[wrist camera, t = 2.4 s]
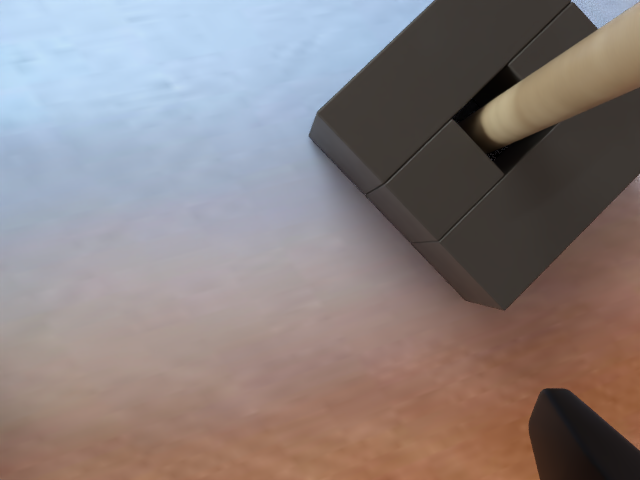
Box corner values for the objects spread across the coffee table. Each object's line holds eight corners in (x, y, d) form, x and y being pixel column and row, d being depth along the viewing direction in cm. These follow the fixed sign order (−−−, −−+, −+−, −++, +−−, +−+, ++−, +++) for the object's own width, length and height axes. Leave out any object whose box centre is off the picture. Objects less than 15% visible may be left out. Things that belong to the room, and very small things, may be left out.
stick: (495, 141, 24) (776, 7, 11) (467, 169, 24) (716, 68, 11) (467, 112, 24) (716, -60, 11) (439, 139, 24) (655, 1, 11)
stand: (620, 145, 25) (687, 125, 21) (465, 301, 24) (505, 311, 20) (468, -18, 24) (508, -71, 20) (307, 136, 24) (315, 112, 20)
